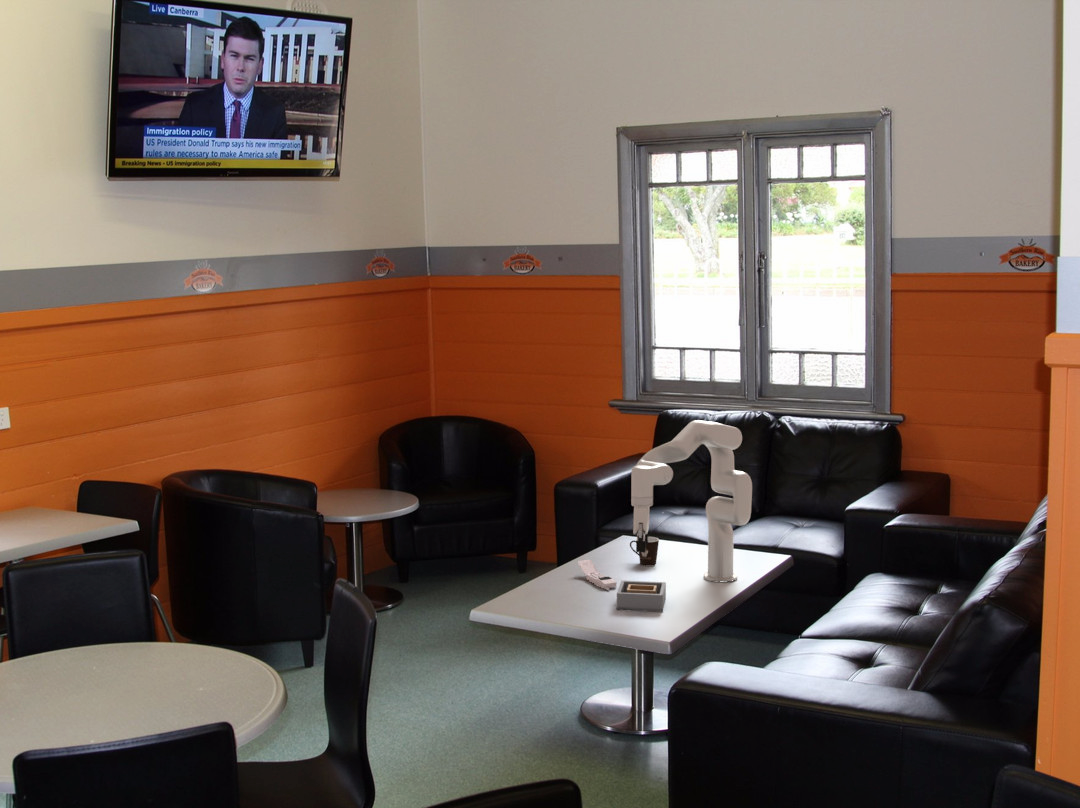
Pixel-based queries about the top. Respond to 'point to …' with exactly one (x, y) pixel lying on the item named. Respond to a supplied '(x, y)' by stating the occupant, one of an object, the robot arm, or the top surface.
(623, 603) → the grey open box
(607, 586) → the mobile phone
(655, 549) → the coffee mug
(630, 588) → the box
